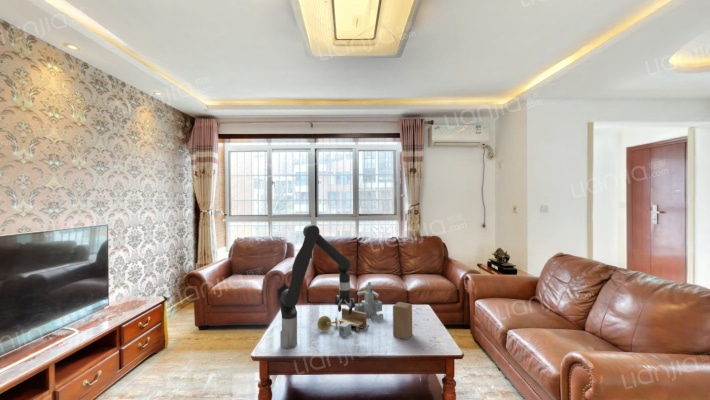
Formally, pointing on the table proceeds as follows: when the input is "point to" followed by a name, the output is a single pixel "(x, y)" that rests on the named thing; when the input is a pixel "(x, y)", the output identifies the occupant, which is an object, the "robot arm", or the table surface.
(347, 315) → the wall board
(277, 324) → the table surface
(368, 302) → the castle model
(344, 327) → the grey rectangular box
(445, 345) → the table surface
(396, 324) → the block
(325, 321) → the wall sconce
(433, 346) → the table surface
